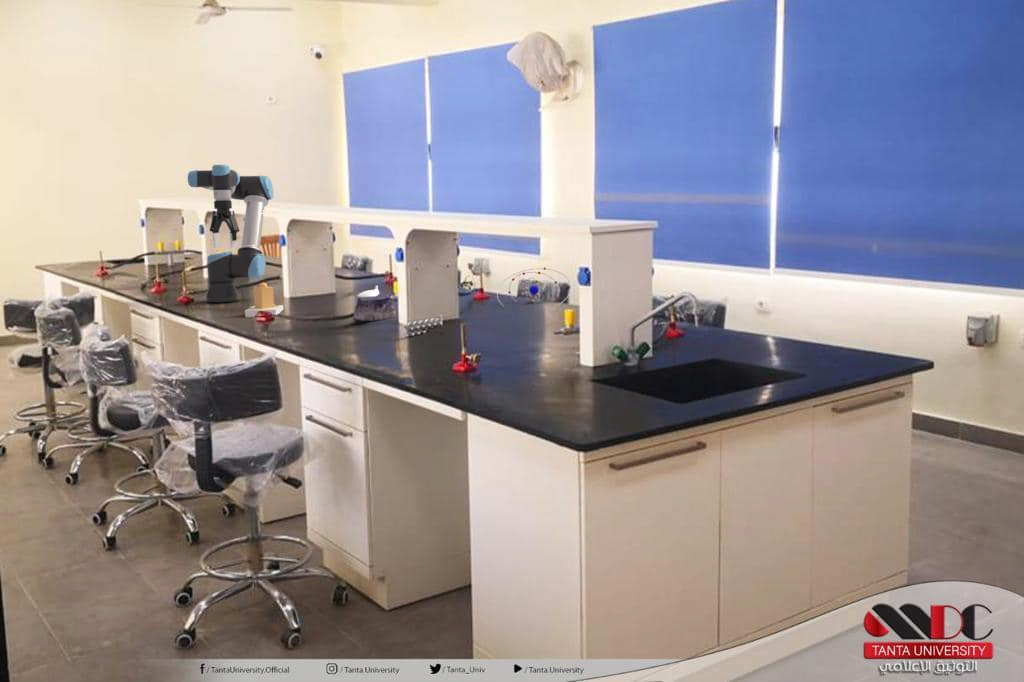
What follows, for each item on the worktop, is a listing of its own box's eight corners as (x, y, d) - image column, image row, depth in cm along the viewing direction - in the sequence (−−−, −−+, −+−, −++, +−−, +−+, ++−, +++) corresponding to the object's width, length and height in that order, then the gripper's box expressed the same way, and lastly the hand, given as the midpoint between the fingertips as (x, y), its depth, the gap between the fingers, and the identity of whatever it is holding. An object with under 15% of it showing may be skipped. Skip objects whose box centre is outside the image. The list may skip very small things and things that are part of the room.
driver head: (386, 283, 481) (368, 277, 471) (386, 304, 478) (368, 299, 469) (370, 288, 487) (352, 282, 477) (370, 309, 484) (352, 303, 474)
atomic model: (527, 340, 440) (584, 303, 436) (514, 330, 420) (573, 291, 416) (497, 289, 449) (553, 252, 445) (482, 276, 430) (540, 238, 425)
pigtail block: (254, 312, 444) (253, 296, 443) (283, 311, 444) (282, 296, 443) (245, 317, 426) (244, 301, 425) (276, 316, 427) (275, 300, 426)
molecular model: (416, 341, 364) (415, 324, 363) (398, 339, 369) (397, 322, 368) (458, 332, 384) (458, 316, 383) (440, 331, 389) (440, 315, 388)
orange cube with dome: (254, 307, 435) (253, 282, 433) (266, 306, 439) (264, 281, 437) (262, 308, 431) (261, 283, 429) (274, 307, 435) (272, 282, 433)
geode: (368, 324, 396) (367, 299, 395) (347, 322, 402) (346, 298, 401) (401, 318, 413) (400, 294, 411) (380, 317, 419) (379, 293, 418)
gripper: (200, 200, 448) (203, 247, 452) (230, 199, 432) (233, 248, 435) (214, 200, 454) (217, 246, 457) (245, 199, 437) (248, 247, 440)
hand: (225, 247), depth 446 cm, fingers open, 13 cm apart
